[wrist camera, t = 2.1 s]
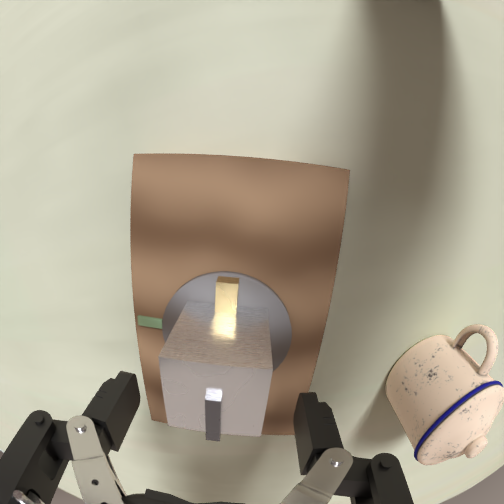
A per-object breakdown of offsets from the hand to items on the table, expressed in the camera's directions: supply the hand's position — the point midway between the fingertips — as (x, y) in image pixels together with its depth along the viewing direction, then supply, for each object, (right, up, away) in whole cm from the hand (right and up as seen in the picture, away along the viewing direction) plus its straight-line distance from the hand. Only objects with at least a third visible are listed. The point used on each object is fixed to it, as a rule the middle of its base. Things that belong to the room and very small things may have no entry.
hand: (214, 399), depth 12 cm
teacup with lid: (+19, -3, +9) cm, 21 cm away
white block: (0, +2, +5) cm, 5 cm away
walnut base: (0, +2, +8) cm, 8 cm away
